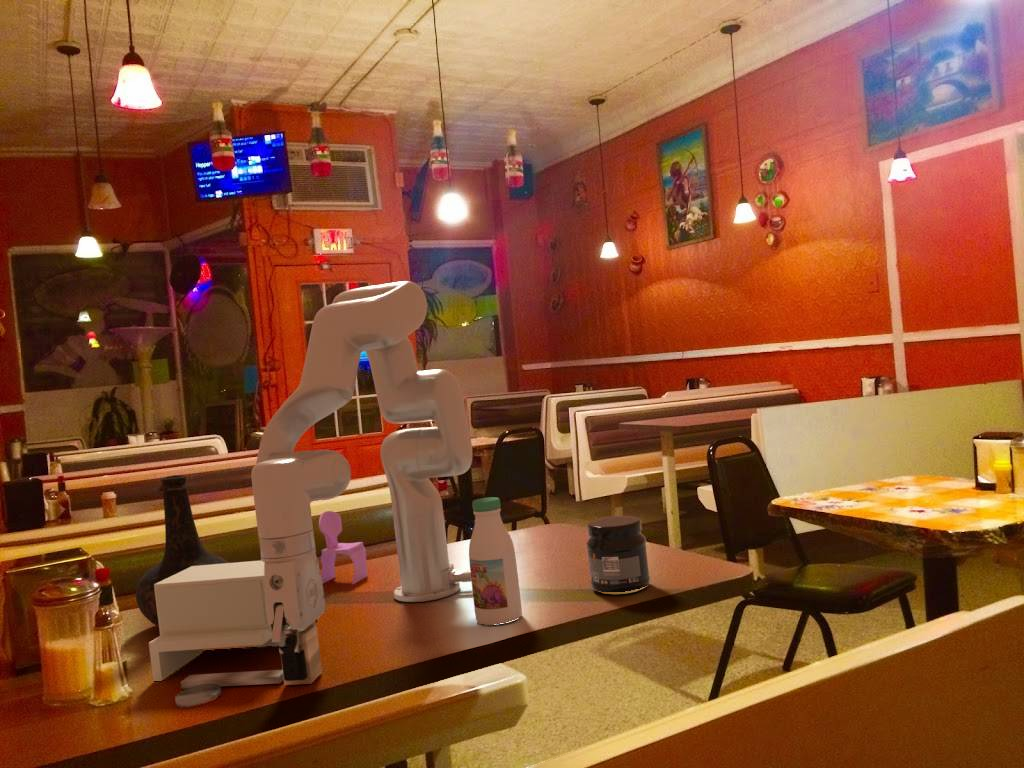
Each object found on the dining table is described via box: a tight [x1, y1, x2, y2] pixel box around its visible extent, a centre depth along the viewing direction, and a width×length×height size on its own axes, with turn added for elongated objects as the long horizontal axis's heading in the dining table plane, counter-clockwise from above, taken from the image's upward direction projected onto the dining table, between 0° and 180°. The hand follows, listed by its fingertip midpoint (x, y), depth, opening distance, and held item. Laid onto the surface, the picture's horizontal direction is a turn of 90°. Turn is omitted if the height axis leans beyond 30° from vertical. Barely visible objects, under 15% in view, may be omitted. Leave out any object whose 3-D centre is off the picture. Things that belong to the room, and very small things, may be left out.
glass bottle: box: [135, 474, 230, 628], centre depth 152 cm, size 18×18×28 cm
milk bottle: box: [468, 496, 523, 626], centre depth 132 cm, size 8×8×20 cm
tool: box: [180, 624, 323, 690], centre depth 115 cm, size 20×4×7 cm, turn 82°
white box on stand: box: [148, 559, 290, 682], centre depth 126 cm, size 18×14×14 cm
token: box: [174, 684, 222, 708], centre depth 112 cm, size 6×6×1 cm
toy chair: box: [318, 510, 369, 585], centre depth 171 cm, size 8×9×15 cm
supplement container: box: [585, 515, 651, 592], centre depth 142 cm, size 10×10×12 cm
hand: (302, 671), depth 114 cm, fingers closed on tool, 4 cm apart
